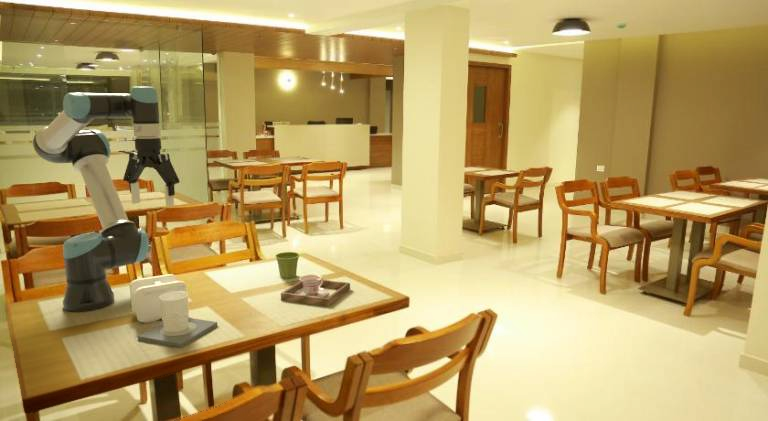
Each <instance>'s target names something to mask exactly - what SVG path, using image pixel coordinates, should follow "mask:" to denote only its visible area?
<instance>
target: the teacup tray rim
mask: <svg viewBox="0 0 768 421" xmlns="http://www.w3.org/2000/svg"><path fill="white" fill-rule="evenodd" d="M321 281H322V280H321ZM320 284H321V282H320ZM320 284H319V285H320ZM320 288H324V289H326V288H328V289H335V290H336V291H334V292H333V293H332V294H330V295H329V296H328V297H315V296H316V295H314V296H307V294H304V295H300V294H294V293H295V292H296V291H298V290H300V289H304V287H303V285H302V282H300V281H298V282H296V283H294V284H293V285H292V286H290V287H288V288H287V289H285V290H283V291H281V293H280V301H283V302H285V301H286V302H290V303H291V302H293V303H300V304H307V305H308V304H309V305H316V306H323V307H330V306H331V305H332V304H334V303H335V302H336V301H337V300H339V299H340V298H342V297H343V296H344V295H345V294H347V293H348V292H349V291H350V290H351V282H345V281H338V280H337V281H336V280H330V279H329V280H327V279H323V283H322V285H321V287H320Z"/></svg>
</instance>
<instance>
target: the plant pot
mask: <svg viewBox="0 0 768 421" xmlns="http://www.w3.org/2000/svg"><path fill="white" fill-rule="evenodd" d="M274 256H275V258H276V261H277V264H278V272H279V277H280V278H281V279H284V280H285V279H294V278H295V277H296V276H297V269H298V261H299V258H300V256H301V255H300V253H298V252H296V251H295V252H294V251H285V252H284V251H283V252H279V253H277V254H275V255H274Z"/></svg>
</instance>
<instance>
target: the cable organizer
mask: <svg viewBox="0 0 768 421" xmlns="http://www.w3.org/2000/svg"><path fill="white" fill-rule="evenodd" d="M174 291H183V292H187V293H188V290H187V285H186V283H185V282H184V281H182V280H178V278H177V276H176V275H175V274H172V273H170V274H169V273H167V274H163V275H162V274H161V275H155V276H150V277H149V276H148V277H143V278H137V279H133V280H132V281H131V282H130V283H129V293H130V306H131V310H132V312H133V313H134V314H136V319H137V320H138V321H139V322H141V323H153V322H157V321H158V320H162V315H161V308H160V301H159V297H160V296H161V295H162V294H165V293H168V292H174Z"/></svg>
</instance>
